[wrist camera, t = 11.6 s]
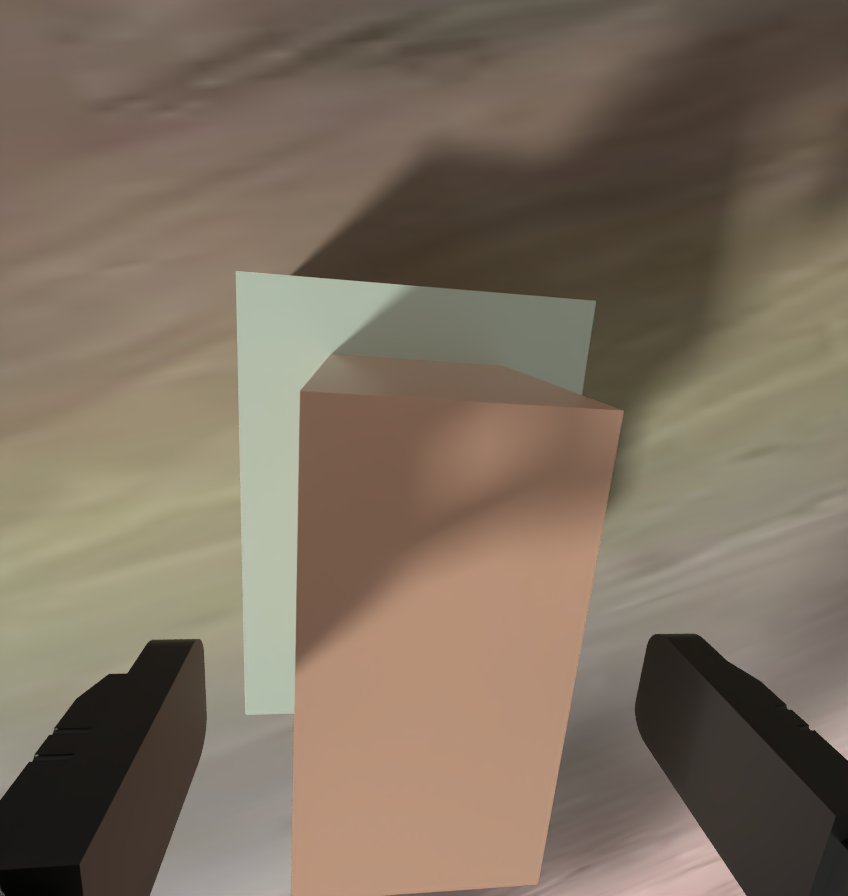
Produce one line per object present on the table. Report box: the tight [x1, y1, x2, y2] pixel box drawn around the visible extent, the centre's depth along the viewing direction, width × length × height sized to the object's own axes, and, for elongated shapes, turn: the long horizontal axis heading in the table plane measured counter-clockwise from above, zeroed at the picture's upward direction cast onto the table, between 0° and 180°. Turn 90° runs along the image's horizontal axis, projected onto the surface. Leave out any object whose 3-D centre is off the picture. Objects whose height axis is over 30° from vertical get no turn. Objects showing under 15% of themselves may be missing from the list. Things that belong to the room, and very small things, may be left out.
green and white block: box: [236, 271, 596, 715], centre depth 19 cm, size 14×10×7 cm
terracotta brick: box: [291, 354, 624, 896], centre depth 12 cm, size 5×10×7 cm, turn 175°
